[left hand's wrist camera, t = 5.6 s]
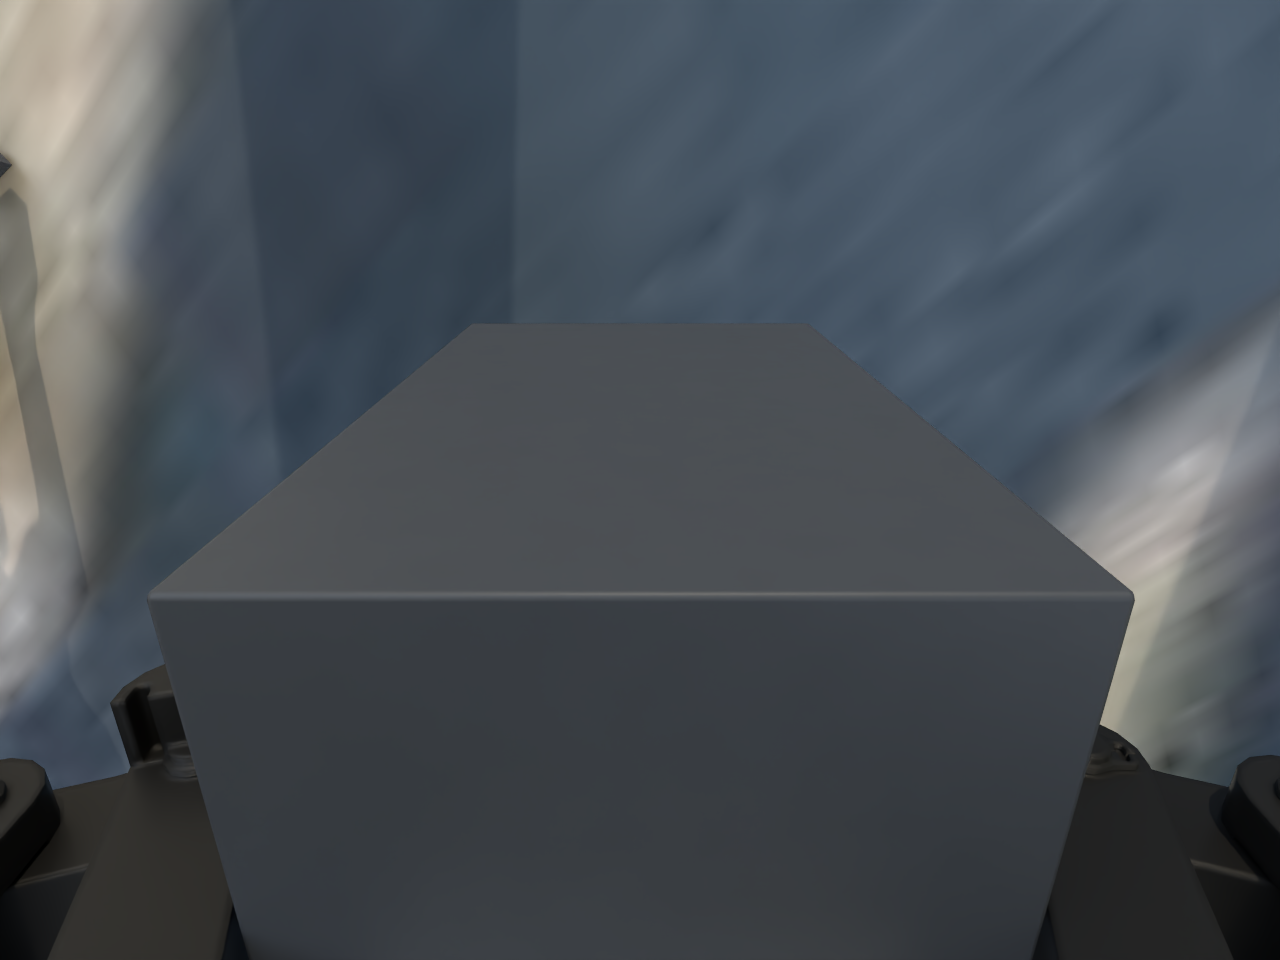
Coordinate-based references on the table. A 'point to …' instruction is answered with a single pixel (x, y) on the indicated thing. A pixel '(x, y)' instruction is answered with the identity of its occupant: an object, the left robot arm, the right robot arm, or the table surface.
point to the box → (640, 667)
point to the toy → (4, 164)
